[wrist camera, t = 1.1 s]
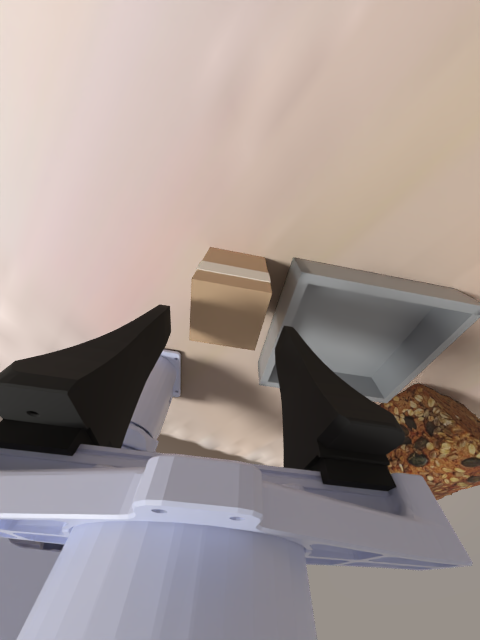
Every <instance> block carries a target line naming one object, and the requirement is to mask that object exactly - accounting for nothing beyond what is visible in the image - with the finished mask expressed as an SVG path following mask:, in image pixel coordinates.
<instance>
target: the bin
mask: <svg viewBox="0 0 480 640" xmlns="http://www.w3.org/2000/svg"><path fill="white" fill-rule="evenodd" d="M479 318H480V302H479V301H477V300H475V299H473V298H471V297H469V296H467V295H465V294H464V293H462V292H460V291H458V290H456V289H454V288H449V287H444V286H439V285H434V284H428V283H423V282H418V281H413V280H408V279H402V278H397V277H392V276H387V275H382V274H377V273H371V272H366V271H361V270H356V269H351V268H346V267H340V266H335V265H330V264H325V263H320V262H314V261H309V260H304V259H299V258H294V257H293V260H292V263H291V266H290V269H289V272H288V274H287V277H286V280H285V283H284V286H283V289H282V292H281V295H280V298H279V301H278V304H277V307H276V310H275V313H274V316H273V319H272V322H271V325H270V328H269V331H268V334H267V337H266V340H265V343H264V346H263V349H262V352H261V355H260V358H259V361H258V372H259V385H263V386H270V387H277V388H280V387H279V381H278V376H277V370H276V364H275V347H276V344H277V342H278V339H279V336H280V334H281V331H282V329H283V326H290V327H293V328H294V329H295V330H296V331H297V332H298V334H299V335H300V336H301V337H302V339H303V340H304V341H305V342H306V344H307V345H308V346H309V347H310V348H311V349H312V351H313V352H314V353H315V354H316V355H317V356H318V357H319V358H320V359H321V360H322V362H323V363H324V364H325V365H327V366H328V367H329V368H330V369H331V370H332V371H333V372H334V373H335V374H336V375H337V376H339V377H340V378H341V379H342V380H344V381H345V382H346V383H347V384H349V385H350V386H351V387H352V388H354V389H355V390H356V391H358V392H359V393H361V394H362V395H364V396H365V397H367V398H368V399H369V400H371V401H374V402H381V403H388V402H389V401H390V400H391V399H392V398H393V397H394V396H395V395H397V394H398V393H399V392H400V391H401V390H402V389H403V388H404V387H405V386H406V385H407V384H408V383H409V382H411V381H412V380H413V379H414V378H415V377H416V376H417V375H418V374H419V373H420V372H421V371H422V370H424V369H425V368H426V367H427V366H428V365H429V364H430V363H431V362H432V361H433V360H434V359H435V358H436V357H438V356H439V355H440V354H441V353H442V352H443V351H444V350H445V349H446V348H447V347H448V346H449V345H450V344H452V343H453V342H454V341H455V340H456V339H457V338H458V337H459V336H460V335H461V334H462V333H463V332H465V331H466V330H467V329H468V328H469V327H470V326H471V325H472V324H473V323H474V322H475V321H476V320H477V319H479Z"/></svg>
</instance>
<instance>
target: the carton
mask: <svg viewBox="0 0 480 640" xmlns="http://www.w3.org/2000/svg"><path fill="white" fill-rule="evenodd" d="M270 283H271V280H270V276H269V273H268V271H267V266H266V261H265V257H260V256H254V255H249V254H244V253H239V252H233V251H228V250H223V249H218V248H212V247H210V248H209V250H208V252H207V253H206V255H205V257H204V259H203V260H201V262H200V263H199V265H198V267H197V270H196V272H195V274H194V276H193V277H192V283H191V310H190V337H189V340H191V341H197V342H204V343H210V344H216V345H223V346H229V347H236V348H242V349H248V350H255V348H256V344H257V341H258V338H259V335H260V331H261V328H262V325H263V322H264V318H265V315H266V312H267V308H268V305H269V302H270V299H271V295H272V290H271V285H270Z"/></svg>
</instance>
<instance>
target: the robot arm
mask: <svg viewBox="0 0 480 640" xmlns="http://www.w3.org/2000/svg"><path fill="white" fill-rule="evenodd" d="M170 333H171V321H170V306H165V305H158V306H157V307H155V308H153V309H152V310H150V311H149V312H147V313H145V314H144V315H142V316H140V317H139V318H137V319H135V320H134V321H132V322H130V323H128V324H126V325H124V326H122V327H120V328H119V329H116V330H114V331H112V332H110V333H108V334H105V335H103V336H101V337H98V338H96V339H93V340H90V341H87V342H85V343H82V344H79V345H76V346H73V347H70V348H66V349H63V350H59V351H56V352H52V353H48V354H44V355H40V356H35V357H31V358H27V359H22V360H18V361H15V362H13V363H12V364H11V365H10V366H8V367H7V368H6V369H4V370H3V371H2V372H1V373H0V416H1V417H2V418H3V420H2V421H1V422H0V640H317V635H316V628H315V621H314V615H313V608H312V601H311V595H310V587H309V582H308V574H307V567H306V564H311V565H333V566H356V567H357V566H358V567H377V568H394V569H408V570H432V569H443V568H453V567H464V566H472V564H473V563H472V561H471V559H470V557H469V555H468V554H467V552H466V550H465V549H464V547H463V545H462V543H461V542H460V540H459V538H458V536H457V535H456V533H455V531H454V530H453V528H452V526H451V525H450V523H449V521H448V519H447V518H446V516H445V514H444V512H443V511H442V509H441V507H440V506H439V504H438V502H437V500H436V499H435V497H434V495H433V494H432V492H431V490H430V488H429V487H428V485H427V483H426V482H425V480H424V478H423V477H422V476H420V475H414V474H406V473H392V474H390V472H389V470H388V468H387V466H389V465H390V462H389V460H388V458H387V456H386V455H387V454H388V453H390V452H391V451H393V450H394V449H396V448H397V447H399V446H400V445H401V444H402V443H403V441H404V440H405V433H404V431H403V429H402V428H401V426H400V424H399V423H398V421H397V420H396V418H395V416H394V415H393V414H392V413H390V412H389V411H387V410H386V409H384V408H382V407H381V406H379V405H377V404H376V403H374V402H372V401H371V400H369V399H368V398H367V397H365V396H364V395H362V394H361V393H359V392H358V391H356V390H355V389H354V388H352V387H351V386H350V385H349V384H347V383H346V382H345V381H344V380H342V379H341V378H340V377H339V376H337V375H336V374H335V373H334V372H333V371H332V370H331V369H330V368H329V367H328V366H327V365H325V364H324V363H323V362H322V360H321V359H320V358H319V357H318V356H317V355H316V354H315V353H314V352H313V351H312V349H311V348H310V347H309V346H308V345H307V344H306V342H305V341H304V340H303V339H302V337H301V336H300V335H299V334H298V332H297V331H296V330H295V329H294V328H293V327H290V326H283V329H282V331H281V334H280V336H279V339H278V342H277V344H276V347H275V364H276V370H277V376H278V381H279V387H280V393H281V400H282V414H283V441H284V467H275V466H266V465H258V464H249V463H244V462H240V461H231V460H224V459H214V458H207V457H198V456H189V455H181V454H163V453H157V452H155V450H156V448H157V445H158V441H157V440H156V439H157V438H158V436H159V434H160V432H161V429H162V426H163V423H164V420H165V418H166V415H167V412H168V409H169V406H170V403H171V400H172V398H173V397H179V396H180V394H181V354H180V353H179V352H177V351H170V350H164V348H165V346H166V344H167V341H168V338H169V336H170Z"/></svg>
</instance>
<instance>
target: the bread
mask: <svg viewBox="0 0 480 640" xmlns="http://www.w3.org/2000/svg"><path fill="white" fill-rule="evenodd" d="M379 406H381V407H382V408H384V409H386V410H387V411H389V412H390V413H392V414H393V415H394V416H395V418H396V420H397V421H398V423H399V424H400V426H401V428H402V429H403V431H404V433H405V440H404V441H403V443H402V444H401V445H400V446H399V447H397V448H396V449H394V450H393V451H391V452H390V453H388V454H387V455H386V456H387V458H388V460H389V462H390V465H389V466H387V468H388V470H389V472H390V474H392V473H406V474H414V475H420V476H422V477H423V478H424V480H425V482H426V483H427V485H428V487H429V488H430V490H431V492H432V494H433V495H434V497H435V499H436V500H439V499H441V498H443V497H444V496H446V495H452V493H454V492H458V490H461V489H467V488H470V487H473V486H477V485H480V419H478V418H477V417H476V415H475V414H473V413H471V412H470V411H469V410H468V409H467V408H466V407H465V406H464V405H463V404H461V403H459V402H457V401H454V400H453V399H451V398H450V397H448V396H443V395H440V394H439V393H437V392H436V391H434V390H433V389H430V388H427V387H426V386H424V385H421V384H414V385H412V386H410V387H409V388H407V389H406V391H405V392H402V393H400V394H398V395H396V396H394V397H393V398H392V399H391V400H390V401H389V402H388V403H381V404H380V405H379Z"/></svg>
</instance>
